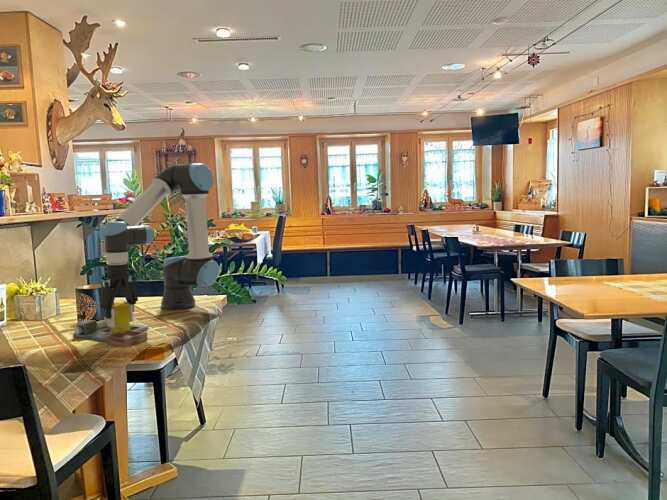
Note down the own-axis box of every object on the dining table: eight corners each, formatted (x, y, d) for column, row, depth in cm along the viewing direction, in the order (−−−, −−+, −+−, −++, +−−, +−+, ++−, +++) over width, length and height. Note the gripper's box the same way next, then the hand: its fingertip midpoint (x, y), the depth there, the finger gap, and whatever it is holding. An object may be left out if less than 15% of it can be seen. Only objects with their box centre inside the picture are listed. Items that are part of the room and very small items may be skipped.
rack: (127, 336, 180) (126, 329, 179) (147, 339, 176) (147, 332, 175) (105, 343, 171) (104, 336, 171) (125, 347, 167) (125, 339, 167)
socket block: (113, 324, 196) (112, 312, 196) (148, 329, 189) (147, 316, 188) (73, 336, 180) (72, 323, 180) (109, 342, 173) (108, 328, 172)
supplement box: (112, 331, 187) (110, 302, 186) (129, 329, 189) (128, 301, 188) (112, 335, 181) (110, 306, 180) (130, 333, 184) (128, 304, 183)
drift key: (106, 324, 191) (105, 316, 191) (111, 325, 190) (111, 317, 190) (74, 333, 179) (73, 325, 178) (79, 334, 177) (79, 326, 177)
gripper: (132, 259, 193) (134, 316, 196) (85, 266, 175) (89, 329, 177) (146, 260, 190) (149, 318, 193) (101, 267, 171) (104, 332, 174)
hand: (120, 323), depth 185 cm, fingers closed on supplement box, 8 cm apart
